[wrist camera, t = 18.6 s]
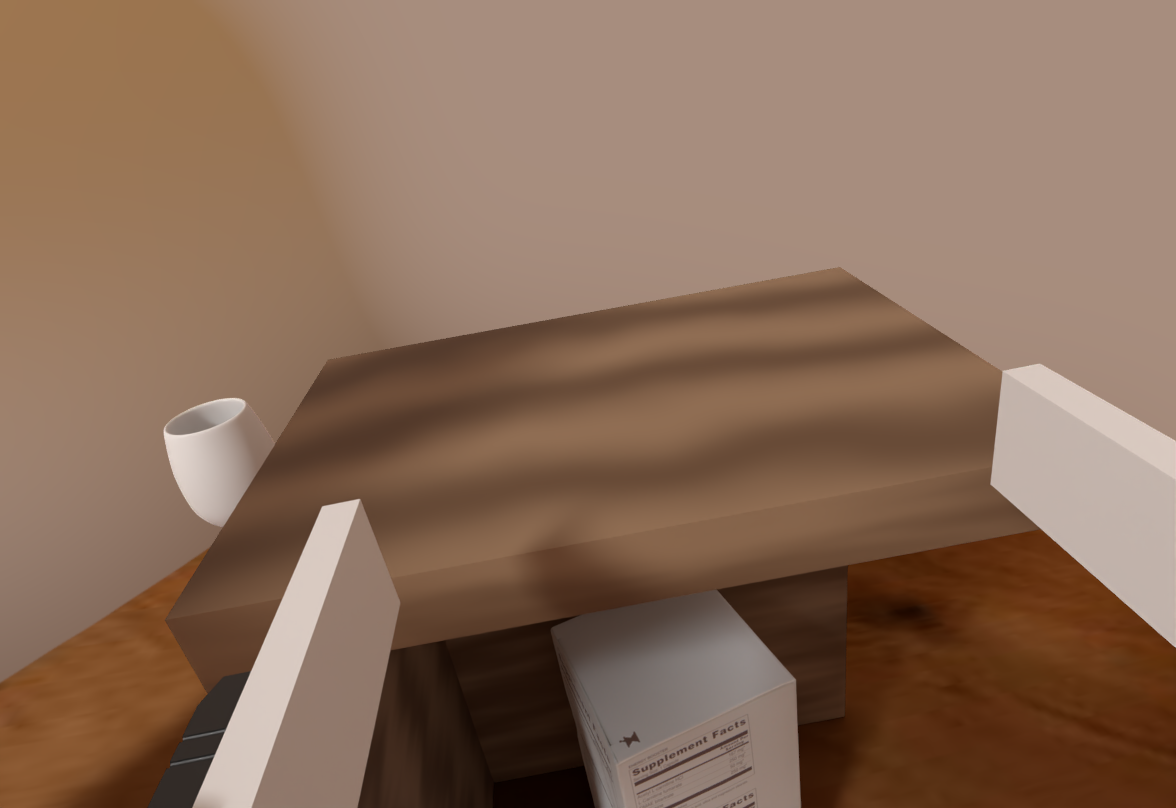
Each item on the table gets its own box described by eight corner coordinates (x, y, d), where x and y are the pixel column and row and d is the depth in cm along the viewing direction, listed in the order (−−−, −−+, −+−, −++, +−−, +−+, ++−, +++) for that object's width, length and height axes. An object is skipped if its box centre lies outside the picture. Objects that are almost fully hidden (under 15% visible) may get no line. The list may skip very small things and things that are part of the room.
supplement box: (810, 895, 39) (806, 682, 31) (661, 980, 36) (617, 772, 29) (719, 755, 47) (699, 560, 39) (593, 817, 44) (545, 622, 37)
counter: (991, 1008, 33) (1115, 444, 19) (452, 1113, 33) (165, 619, 19) (835, 698, 49) (839, 267, 35) (473, 767, 49) (328, 359, 35)
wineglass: (348, 567, 71) (274, 385, 62) (322, 630, 64) (234, 432, 54) (265, 580, 72) (180, 400, 62) (230, 644, 64) (127, 450, 55)
